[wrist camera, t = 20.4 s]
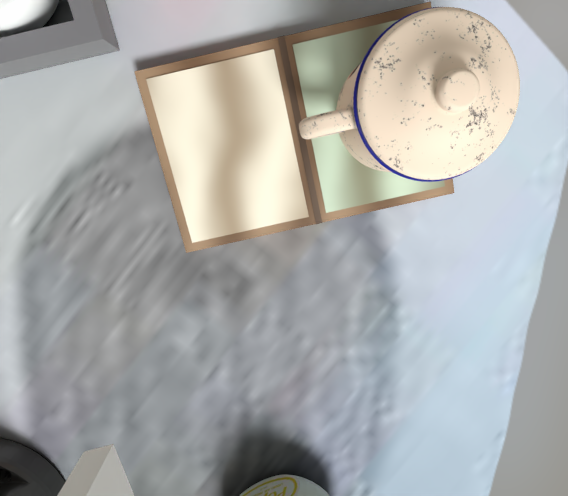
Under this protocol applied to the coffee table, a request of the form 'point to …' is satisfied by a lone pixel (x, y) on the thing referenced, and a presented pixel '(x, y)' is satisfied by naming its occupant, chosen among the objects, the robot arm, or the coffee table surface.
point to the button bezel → (60, 40)
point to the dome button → (24, 15)
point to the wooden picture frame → (267, 136)
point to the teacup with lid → (427, 97)
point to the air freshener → (285, 487)
